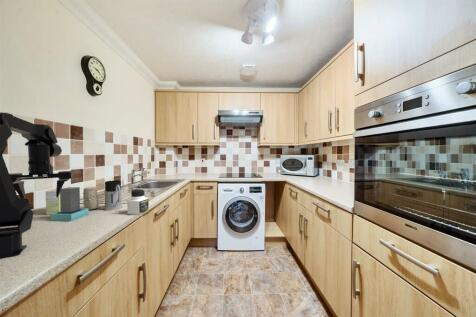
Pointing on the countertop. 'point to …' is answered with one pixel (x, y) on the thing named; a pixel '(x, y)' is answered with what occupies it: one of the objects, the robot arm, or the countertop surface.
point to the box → (52, 202)
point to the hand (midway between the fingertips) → (41, 198)
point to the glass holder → (113, 195)
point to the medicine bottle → (137, 202)
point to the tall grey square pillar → (69, 200)
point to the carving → (90, 198)
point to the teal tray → (69, 215)
